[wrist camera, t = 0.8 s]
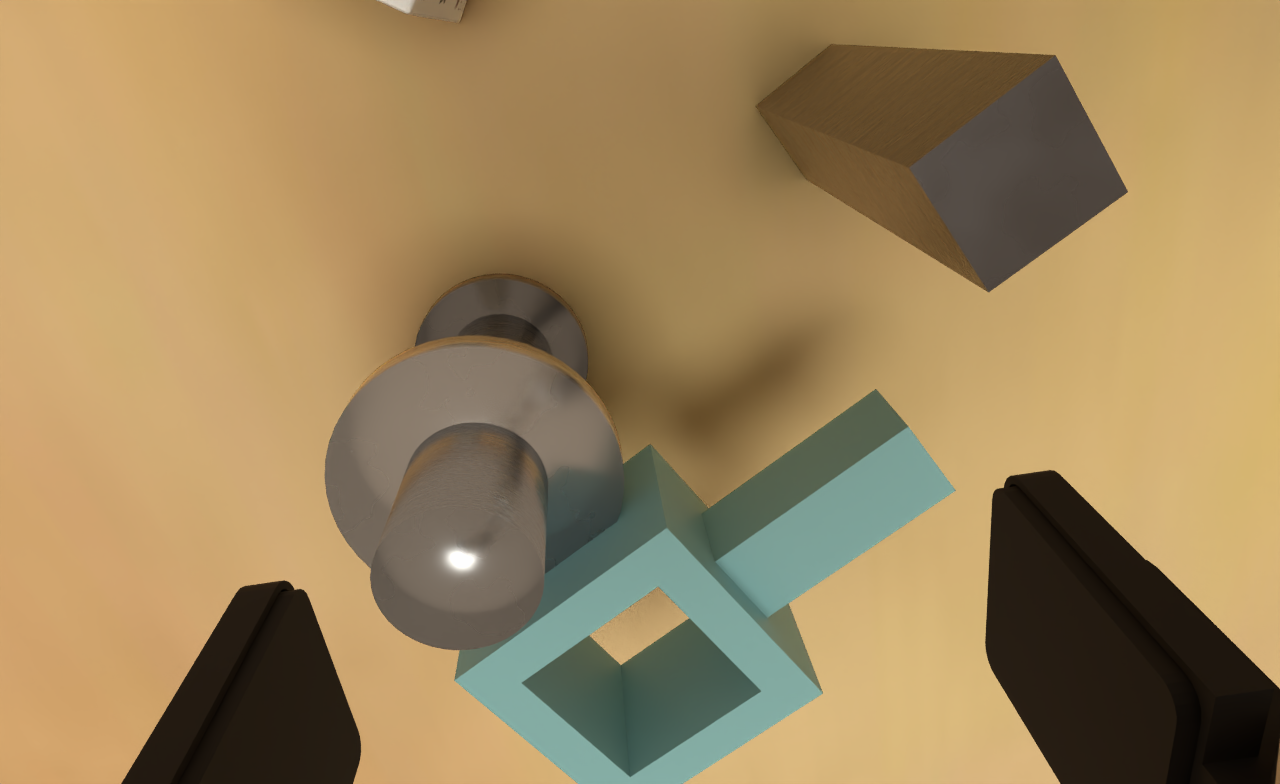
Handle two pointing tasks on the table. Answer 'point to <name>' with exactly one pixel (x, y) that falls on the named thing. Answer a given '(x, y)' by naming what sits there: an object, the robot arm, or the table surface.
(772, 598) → the teal square frame handle
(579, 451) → the grey tall round-topped piece
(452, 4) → the supplement box
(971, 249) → the steel wedge pin
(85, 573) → the table surface
